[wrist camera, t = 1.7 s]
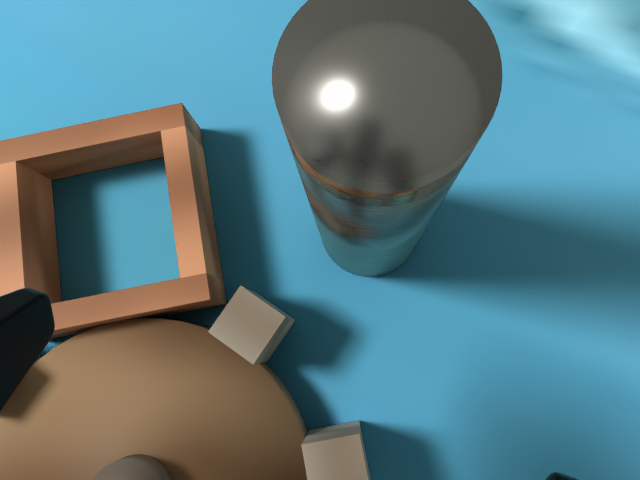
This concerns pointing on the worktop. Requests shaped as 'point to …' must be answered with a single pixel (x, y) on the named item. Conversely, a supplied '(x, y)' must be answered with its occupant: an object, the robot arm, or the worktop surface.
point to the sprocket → (149, 337)
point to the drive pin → (383, 116)
